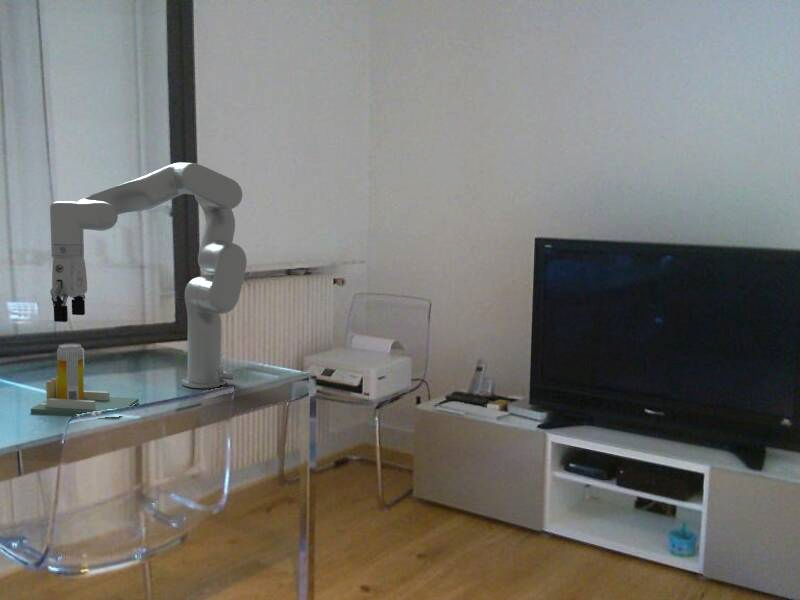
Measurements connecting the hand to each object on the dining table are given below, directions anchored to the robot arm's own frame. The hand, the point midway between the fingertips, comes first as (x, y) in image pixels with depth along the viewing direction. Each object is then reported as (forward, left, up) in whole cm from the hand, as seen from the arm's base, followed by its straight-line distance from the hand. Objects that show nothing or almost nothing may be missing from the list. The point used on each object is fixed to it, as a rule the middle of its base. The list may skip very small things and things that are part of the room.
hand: (69, 318), depth 199 cm
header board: (-4, 0, -23) cm, 24 cm away
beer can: (0, 0, -22) cm, 22 cm away
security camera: (+10, -22, -24) cm, 34 cm away
